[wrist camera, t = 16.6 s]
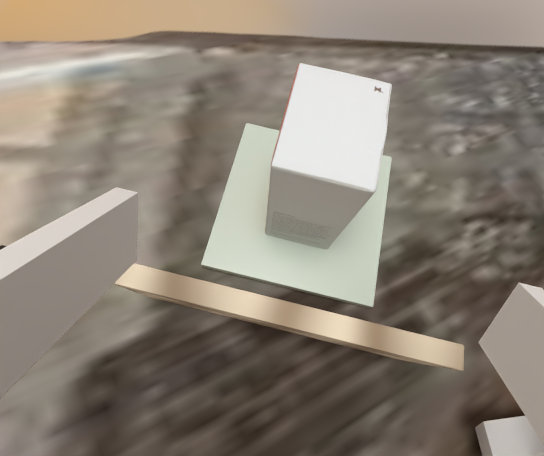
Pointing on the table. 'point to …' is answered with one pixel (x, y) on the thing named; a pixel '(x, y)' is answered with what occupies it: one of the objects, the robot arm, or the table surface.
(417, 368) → the table surface
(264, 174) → the display plate
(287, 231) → the small box
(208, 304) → the wooden screen
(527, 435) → the figurine
